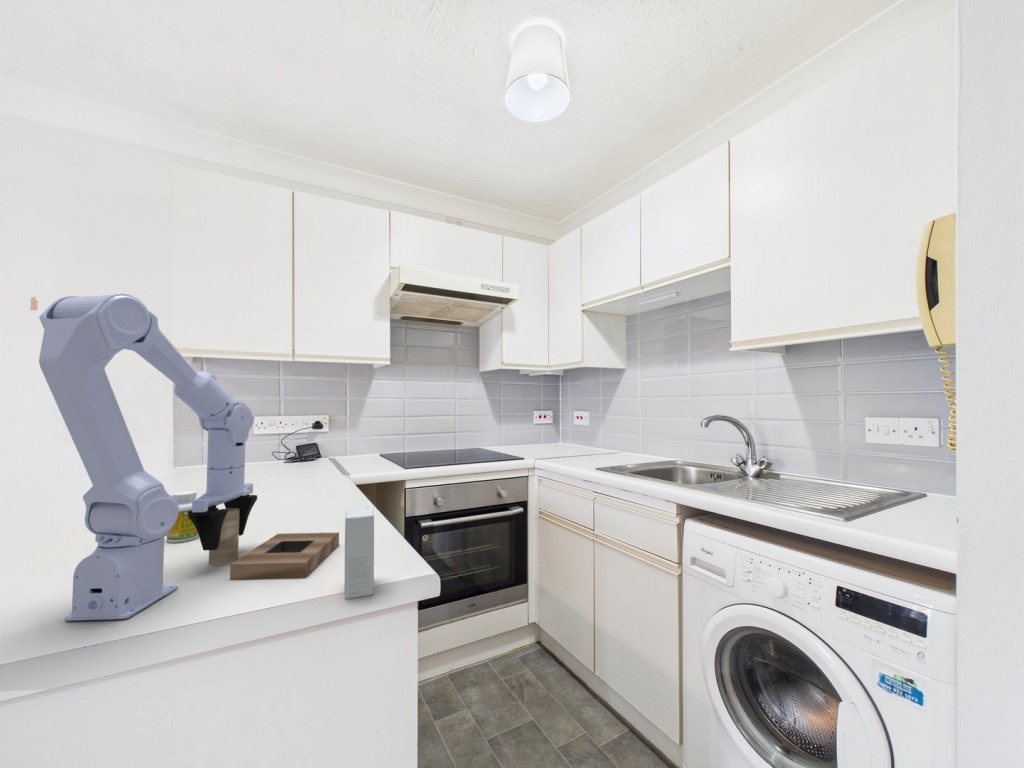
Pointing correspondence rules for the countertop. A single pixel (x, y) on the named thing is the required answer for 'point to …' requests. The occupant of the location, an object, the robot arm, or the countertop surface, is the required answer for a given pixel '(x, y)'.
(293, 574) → the socket block
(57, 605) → the countertop surface
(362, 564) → the skincare box
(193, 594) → the countertop surface
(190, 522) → the supplement bottle
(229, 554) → the birch peg
